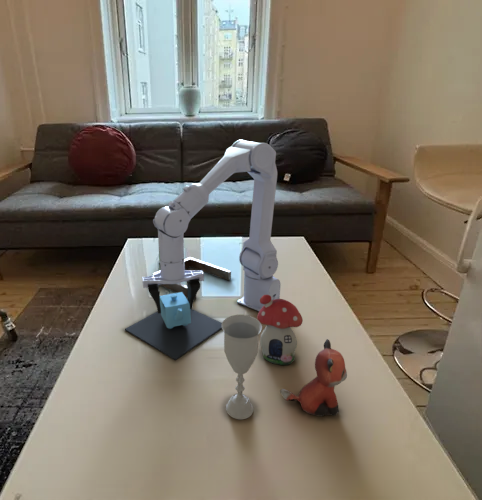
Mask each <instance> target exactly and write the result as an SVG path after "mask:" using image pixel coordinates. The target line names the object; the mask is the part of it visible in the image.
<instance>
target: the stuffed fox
mask: <svg viewBox="0 0 482 500" xmlns="http://www.w3.org/2000/svg"><path fill="white" fill-rule="evenodd" d="M331 345H332V344H331V341H330V339H328V338H326V339H325V341H324V343H323V349H322V350H320V351H319V352H317V354H316V357H315V360H314V369H315V372H316V376H315V377H314V378H313V379H312V380H310V381H309V382H308V383H307V384H305V385H304V386H303V387H302V388H301V389H300V391H299V393H298V395H296V394H295V393H293V392H291V391H290V390H287V389H285V388H281V389H279V392H280V394H281V396H282V398H283V399H284V400H285V401H287V402H288V401H290V402H299V404H300V405H301V409H302V411H303V412H306V413H307V414H309V415H313V416H315V417H324V416H329V415H330V416H336V415H338V414H339V412H340V410H339V402H338V397H337V394H336V392H335V387H337V386H338V385H339V384H341V383H342V382H344V381H346V380H347V377H348V372H347V369H346V362H345V359H344V356H343V354H342V353H341V352H340V351H338V350H337V349H335V348H332V346H331Z"/></svg>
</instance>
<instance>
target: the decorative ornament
mask: <svg viewBox="0 0 482 500" xmlns="http://www.w3.org/2000/svg"><path fill="white" fill-rule="evenodd" d="M260 303H261V304H264V306H263V307H262V308H261V310H260V311H258V313H257V315H256V319H257V320H259V322H260V323H261V325H262V326H265V327H264V329H262V331H261V333H260V337H259V339H260V340H259V344H260V348H261V352H262V356H263V359H265V360H266V361H267V362H268V363H271V364H273V365H279V366H286V365H291V364H292V363H293V362H294V361H295V359H296V356H295V352H296V350H297V346H298V337H297V335H296V333H295V332H294V330H293V329H292V328H298V327H299V328H300V327H301V326H302V324H303V321H304V320H303V316H302V314H301V313H300V311H299V309H298V308H297V306H296V305H295V304H293V303H292V302H290V301H289V300H286V299H283V298H280V299H275V300H271V296H270V295H263V296H262V297H261V298H260Z"/></svg>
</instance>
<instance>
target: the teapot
mask: <svg viewBox="0 0 482 500" xmlns="http://www.w3.org/2000/svg"><path fill="white" fill-rule="evenodd" d="M160 306H161V316H162V318H163V320H164V322H165V324H166V326H167V328H169V329H172V328H173V327H175V326H180V325H183V326H186V325H188V324H190V323H191V315H190V303H189V302H188V298H187V297H185V296H184V294H183V293H182V292H179V293H176V292H174V293H167V294H164V295H160Z"/></svg>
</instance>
